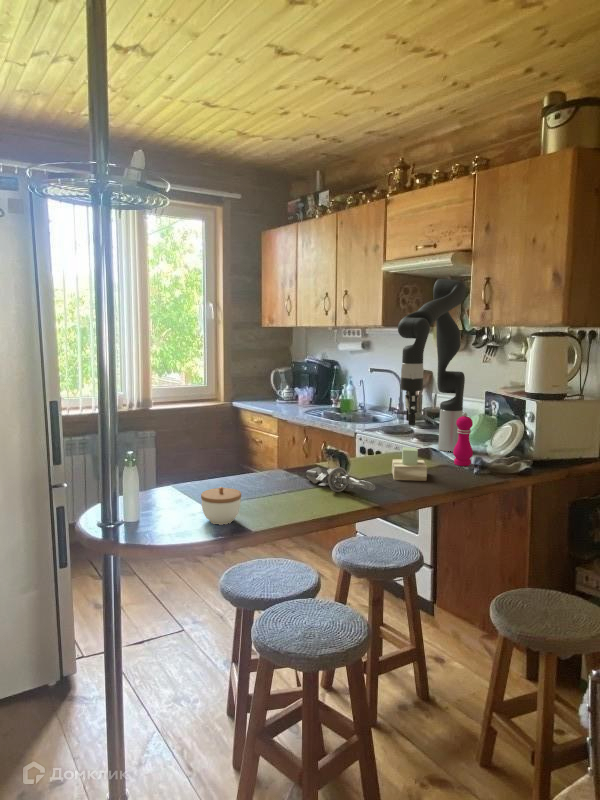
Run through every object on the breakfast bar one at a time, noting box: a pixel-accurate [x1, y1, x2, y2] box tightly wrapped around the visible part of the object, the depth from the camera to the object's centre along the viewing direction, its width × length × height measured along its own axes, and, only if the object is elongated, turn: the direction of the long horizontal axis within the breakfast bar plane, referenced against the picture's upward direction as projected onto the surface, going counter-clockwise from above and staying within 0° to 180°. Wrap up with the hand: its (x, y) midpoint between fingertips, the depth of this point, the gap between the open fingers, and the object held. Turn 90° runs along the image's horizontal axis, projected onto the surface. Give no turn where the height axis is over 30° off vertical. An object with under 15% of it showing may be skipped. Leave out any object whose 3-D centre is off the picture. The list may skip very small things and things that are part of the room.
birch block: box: [391, 458, 428, 482], centre depth 210 cm, size 11×11×5 cm
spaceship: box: [305, 466, 377, 493], centre depth 190 cm, size 8×35×8 cm
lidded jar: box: [200, 486, 242, 526], centre depth 161 cm, size 11×11×9 cm
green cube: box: [401, 446, 419, 465], centre depth 210 cm, size 5×5×5 cm
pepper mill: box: [452, 411, 474, 467], centre depth 227 cm, size 7×7×20 cm
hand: (410, 422), depth 208 cm, fingers open, 8 cm apart
